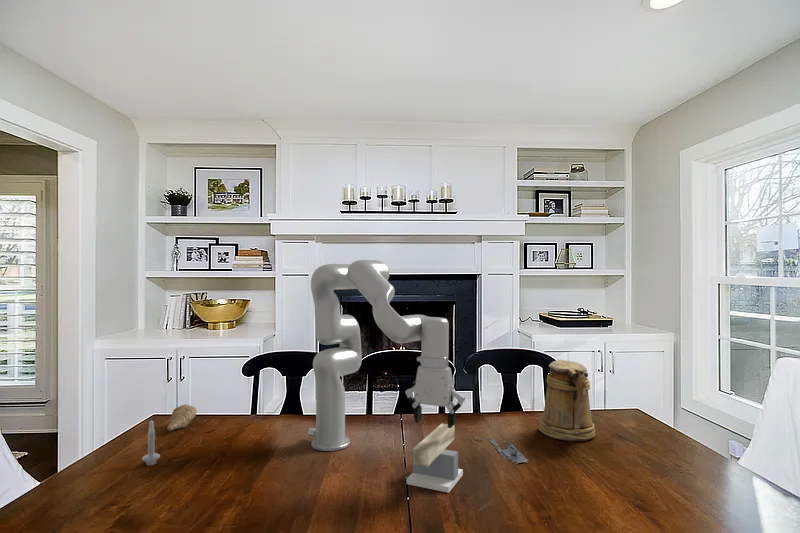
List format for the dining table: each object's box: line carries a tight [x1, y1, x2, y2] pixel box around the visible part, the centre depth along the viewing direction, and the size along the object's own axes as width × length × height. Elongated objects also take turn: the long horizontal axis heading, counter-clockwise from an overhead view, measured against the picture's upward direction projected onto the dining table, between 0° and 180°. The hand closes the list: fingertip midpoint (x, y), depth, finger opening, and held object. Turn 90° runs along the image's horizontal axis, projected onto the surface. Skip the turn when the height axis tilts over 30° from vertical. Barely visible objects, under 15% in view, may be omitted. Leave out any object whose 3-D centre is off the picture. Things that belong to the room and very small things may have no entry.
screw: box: [141, 420, 161, 466], centre depth 142 cm, size 13×5×5 cm
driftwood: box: [487, 437, 529, 465], centre depth 152 cm, size 21×7×2 cm, turn 6°
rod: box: [413, 423, 456, 467], centre depth 131 cm, size 4×22×4 cm, turn 156°
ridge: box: [406, 447, 464, 493], centre depth 131 cm, size 12×12×8 cm
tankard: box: [538, 359, 596, 442], centre depth 166 cm, size 18×24×25 cm
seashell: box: [166, 403, 198, 432], centre depth 174 cm, size 14×8×8 cm, turn 2°
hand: (434, 424), depth 132 cm, fingers open, 9 cm apart
